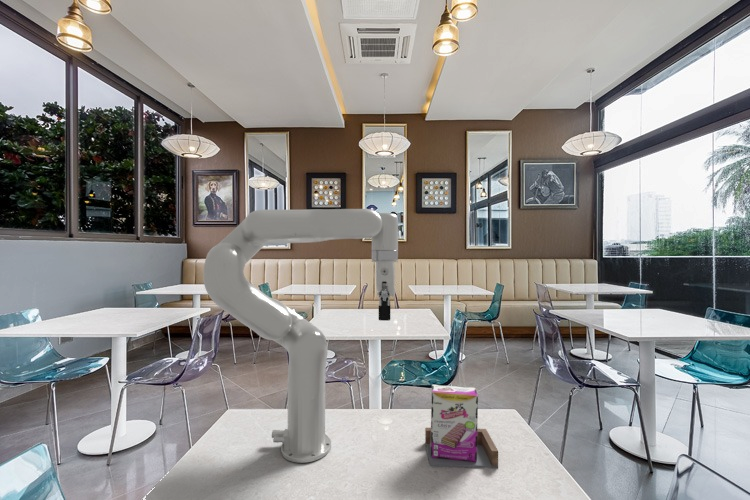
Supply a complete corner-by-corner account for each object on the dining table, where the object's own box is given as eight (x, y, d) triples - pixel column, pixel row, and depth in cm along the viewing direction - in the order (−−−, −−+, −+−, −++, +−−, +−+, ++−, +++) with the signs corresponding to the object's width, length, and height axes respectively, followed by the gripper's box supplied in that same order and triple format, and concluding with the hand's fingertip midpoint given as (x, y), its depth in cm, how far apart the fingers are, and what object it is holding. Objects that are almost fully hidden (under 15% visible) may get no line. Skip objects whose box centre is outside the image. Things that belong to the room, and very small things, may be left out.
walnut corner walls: (430, 466, 81) (430, 449, 81) (425, 442, 91) (425, 427, 91) (498, 468, 80) (498, 451, 80) (485, 443, 90) (485, 428, 90)
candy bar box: (430, 459, 83) (430, 391, 83) (430, 447, 88) (430, 383, 88) (478, 463, 81) (478, 394, 81) (475, 451, 86) (475, 386, 86)
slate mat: (430, 466, 81) (430, 464, 81) (425, 442, 91) (425, 440, 91) (498, 468, 80) (498, 466, 80) (485, 443, 90) (485, 442, 90)
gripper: (399, 257, 88) (398, 323, 88) (397, 256, 106) (396, 311, 106) (370, 257, 89) (369, 323, 89) (372, 256, 106) (372, 311, 106)
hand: (384, 316), depth 97 cm, fingers open, 9 cm apart
